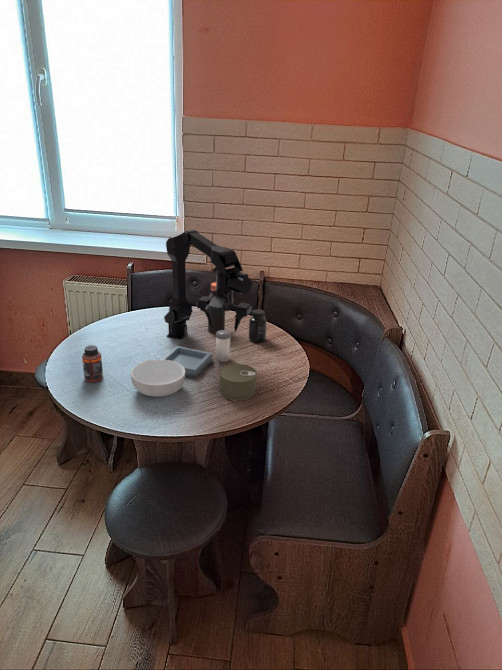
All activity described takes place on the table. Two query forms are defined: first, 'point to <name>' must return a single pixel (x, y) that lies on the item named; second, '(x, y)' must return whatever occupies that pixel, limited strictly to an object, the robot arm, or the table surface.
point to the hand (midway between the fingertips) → (223, 328)
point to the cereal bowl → (158, 377)
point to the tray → (189, 359)
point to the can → (237, 381)
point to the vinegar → (216, 316)
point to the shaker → (223, 345)
